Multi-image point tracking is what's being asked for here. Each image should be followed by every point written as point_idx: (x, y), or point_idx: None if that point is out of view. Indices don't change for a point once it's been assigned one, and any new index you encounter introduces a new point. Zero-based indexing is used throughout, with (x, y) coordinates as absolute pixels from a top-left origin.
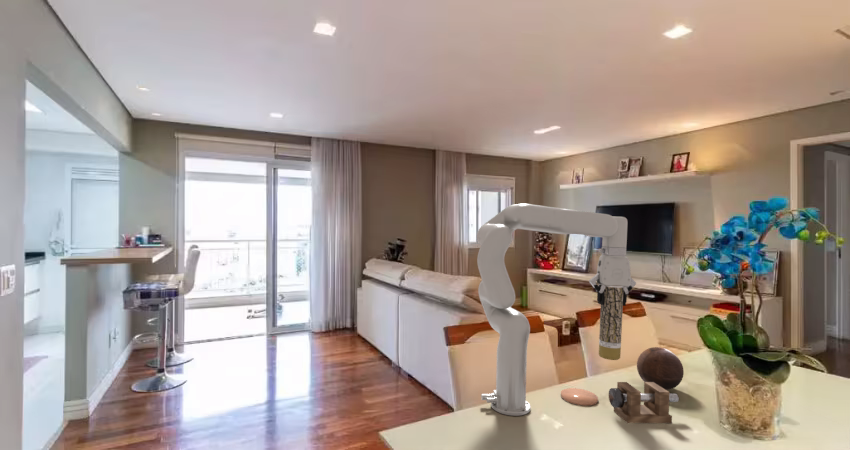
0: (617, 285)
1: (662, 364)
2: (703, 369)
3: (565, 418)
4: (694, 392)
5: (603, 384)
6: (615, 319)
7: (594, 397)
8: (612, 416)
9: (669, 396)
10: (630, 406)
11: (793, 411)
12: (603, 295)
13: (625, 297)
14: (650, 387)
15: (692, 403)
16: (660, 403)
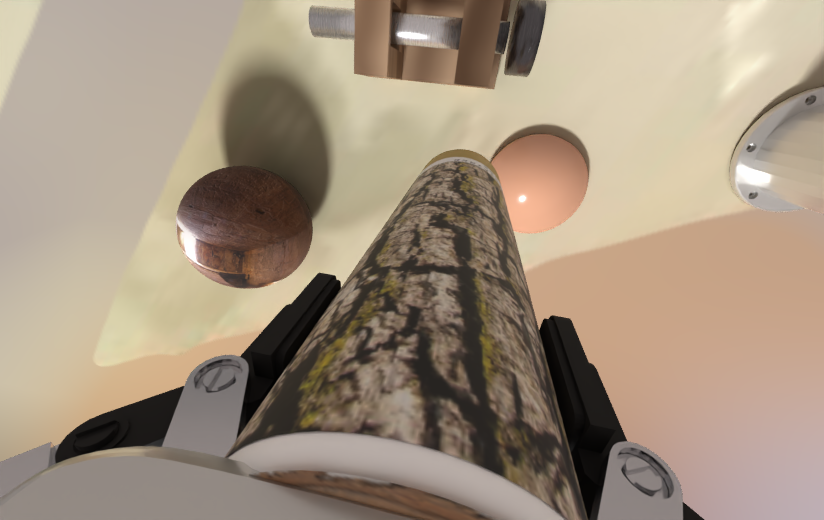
0: (377, 513)
1: (248, 192)
2: (123, 288)
3: (682, 54)
4: None
5: None
6: (461, 199)
7: (500, 166)
8: None
9: (340, 9)
10: None
11: (15, 32)
12: (592, 398)
13: (282, 322)
14: (390, 32)
15: (244, 112)
16: None
